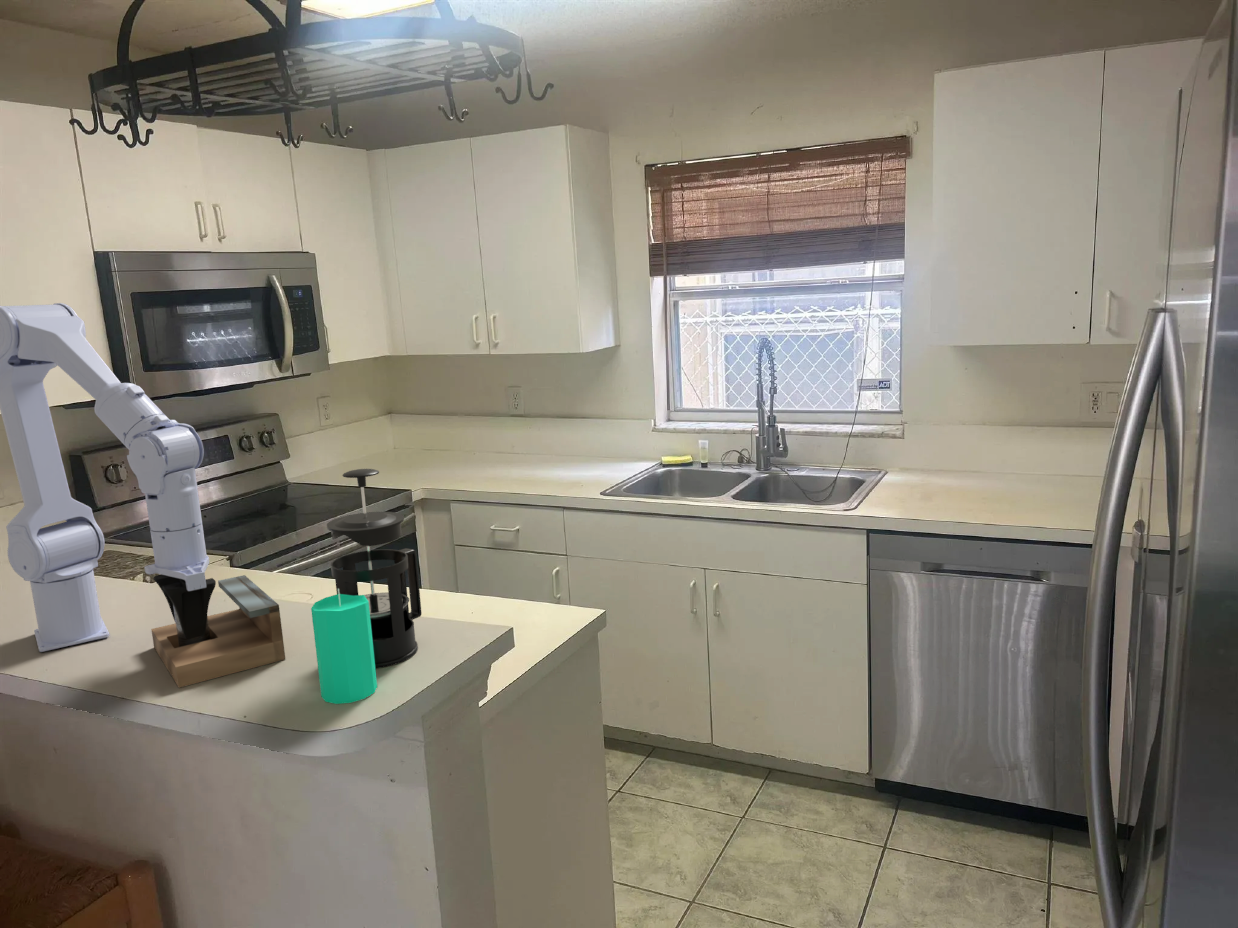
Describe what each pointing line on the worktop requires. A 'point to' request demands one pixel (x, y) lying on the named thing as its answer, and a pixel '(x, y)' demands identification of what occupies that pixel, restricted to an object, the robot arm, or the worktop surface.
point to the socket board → (226, 637)
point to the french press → (380, 577)
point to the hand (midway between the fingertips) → (191, 631)
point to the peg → (184, 641)
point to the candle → (344, 648)
